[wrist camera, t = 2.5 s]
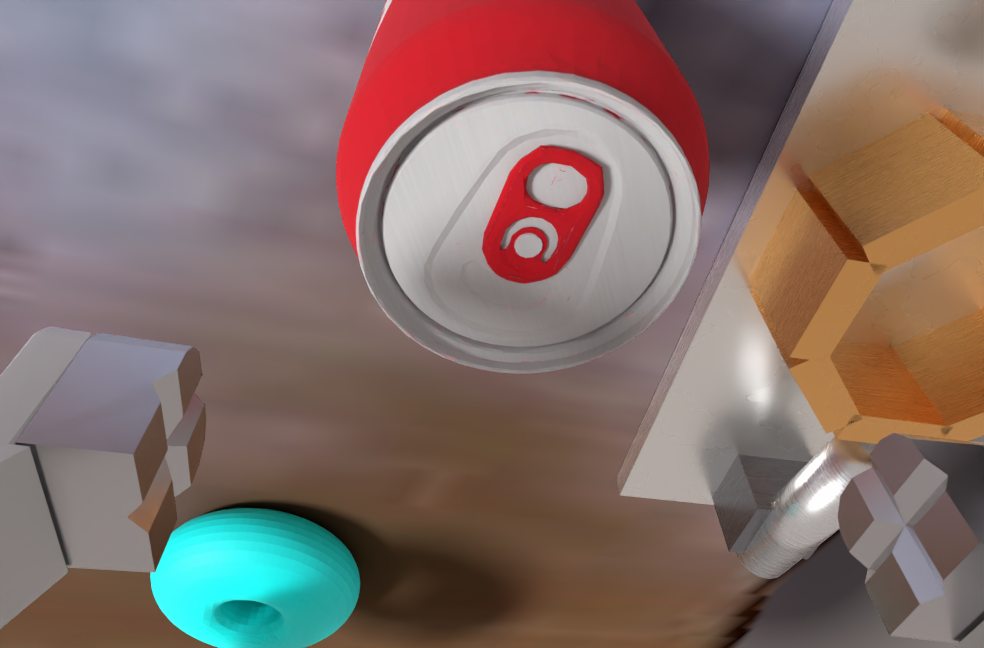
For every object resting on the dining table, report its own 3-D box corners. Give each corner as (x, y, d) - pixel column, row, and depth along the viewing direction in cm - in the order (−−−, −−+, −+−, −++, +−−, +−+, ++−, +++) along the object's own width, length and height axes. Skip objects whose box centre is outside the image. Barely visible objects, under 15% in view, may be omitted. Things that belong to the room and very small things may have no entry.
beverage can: (366, 79, 21) (279, 342, 12) (431, -156, 17) (378, -48, 8) (559, 148, 23) (617, 430, 13) (655, -56, 19) (828, 134, 10)
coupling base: (989, -343, 15) (1204, -381, 11) (1438, -218, 17) (1793, -206, 12) (615, 479, 33) (637, 597, 28) (853, 504, 34) (911, 620, 30)
